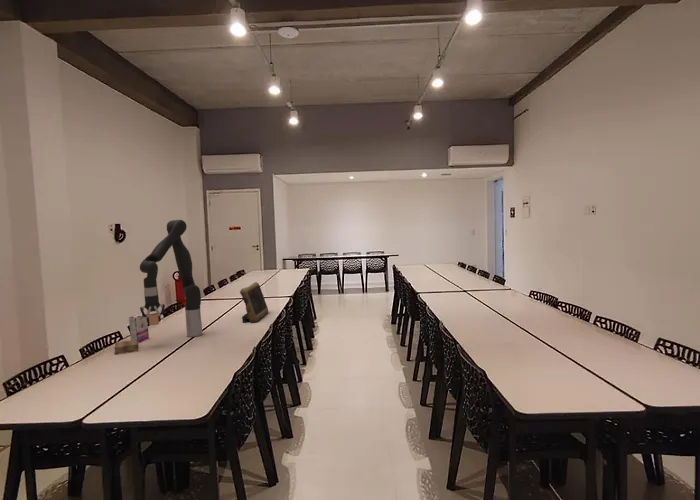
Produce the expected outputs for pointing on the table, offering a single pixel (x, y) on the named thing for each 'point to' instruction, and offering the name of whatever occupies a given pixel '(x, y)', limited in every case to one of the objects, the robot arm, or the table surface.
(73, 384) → the table surface
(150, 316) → the terracotta block
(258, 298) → the tablet
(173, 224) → the robot arm
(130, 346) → the walnut base
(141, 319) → the candy bar box
